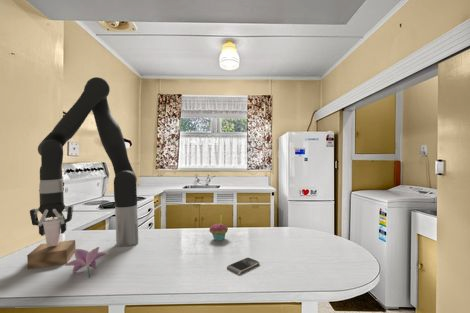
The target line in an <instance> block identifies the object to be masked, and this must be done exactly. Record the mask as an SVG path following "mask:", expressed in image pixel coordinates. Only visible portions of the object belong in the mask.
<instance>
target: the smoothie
mask: <svg viewBox="0 0 470 313" xmlns="http://www.w3.org/2000/svg"><path fill="white" fill-rule="evenodd" d="M42 224H43V226H44V232H45V235H44V237H45V242H46V243H47V246H55V245H58V244H59V242H60V237H61V236H60V234H61V222H60V220H59V219H58V218H57V217H50V218H47V219H46V220H45V221H44V222H43V221H42ZM46 243H45V244H46Z"/></svg>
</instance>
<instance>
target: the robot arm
mask: <svg viewBox="0 0 470 313" xmlns="http://www.w3.org/2000/svg"><path fill="white" fill-rule="evenodd" d="M110 89H111V88H110V84H109V83H108V82H107V80H106V79H104V78H102V77H92V78H89V79H88V80H87V81H86V84H85V85H84V88H83V91H82V93H81V94H80V96H79V97H78V99H77V100H76V102H75V103H74V104H73V105H72V106H71V107H70V108H69V110H67V112H66V113H65V114H64V115H63V116H62V117H61V118H60V120H59V121H58V122H57V123H56V125H55V126H54V127H53V129H52V130H51V131H50V132H49V133H48V134H47V135H46V136H45V137H44V138H43V140H41V141H40V143H39V144H38V146H37V152H38V154H39V155H40V156H41V158H40V159H41V163H40V164H41V165H40V168H39V184H38V185H39V186H38V187H39V188H38V193H39V207H38V208H33V209H30V210H29V214H30V219H31V220H30V221H31V224H32V226H37V227H38V234H39V235H40V236H42V237H43V236H44V237H45V232H44V226H43V224H42V221H43V222H44V221H45V220H46V219H51V218H53V217H54V218H58V219H59V220H60V222H61V229H60V234H61V235H62V234H65V232H66V231H67V223H68V222H71V220H72V218H73V212H74V206H73V205H65V201H64V198H65V197H64V182H63V159H64V146H65V145H66V144H67V142H68V141H70V140H71V139H72V138H73V137H74V136H75V135H76V134H77V132H78V131H79V130H80V128H81V126H82V125H83V123H84V122H85V121H86V119H87V118H88V117H89V115H90V113H91V111H92V114H93V118H94V122H95V126H96V129H97V133H98V135H99V138H100V142H101V145H102V147H103V149H104V151H105V153H106V155H107V157H108V159H109V160H110V162H111V164H112V167H113V168H112V169H113V172H114V179H113V198H114V200H113V201H114V207H115V208H114V211H115V238H116V239H115V244H116V246H117V247H129V246H134V245H135V244H139V220H138V219H139V218H138V195H137V194H138V192H137V181H138V178H137V175H136V172H134V169H133V167H132V164H131V162H130V160H129V157H128V151H127V150H128V149H127V147H126V142H125V138H124V135H123V132H122V129H121V128H120V127H121V126H120V124H119V123H118V121H117V120H116V119H115V117H114V115H113V114H112V112H111V108H110V105H109V102H108V96H109V94H110V91H111V90H110ZM64 211H65V212H67V214H66V217H65V215H64V213H63V212H64ZM39 213H40V214H41V216H40V219H39V217H38V214H39Z"/></svg>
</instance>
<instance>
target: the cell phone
mask: <svg viewBox="0 0 470 313" xmlns="http://www.w3.org/2000/svg"><path fill="white" fill-rule="evenodd" d="M258 266H260V261H259V260H256V259H253V258H250V257H245V258H243V259H241V260H239V261H236V262H233V263H231V264H229V265H227V266H226V270H227V271H229V272H231V273H233V274H235V275H241V274H243V273H245V272H248V271H250V270H252V269H254V268H255V267H258Z"/></svg>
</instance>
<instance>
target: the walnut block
mask: <svg viewBox="0 0 470 313" xmlns="http://www.w3.org/2000/svg"><path fill="white" fill-rule="evenodd" d="M75 249H76V239H73V240H72V239H71V240H63V241H59V244H58V245H55V246H47V243H40V244H39V245H38V246H37V247H35V248H34V249H33V250H31V251H30V252H29V253H28V254H27V255H26V258H27V259H26V260H27V261H26V262H27V269H28V270H31V269H36V268H37V269H38V268H42V267H50V266H51V267H52V266H57V264H58V265H62V264H63V263H65V264H67V263H69V262H70V259H71V258H72V257H73V256H74V255H75ZM63 265H64V264H63Z"/></svg>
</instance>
